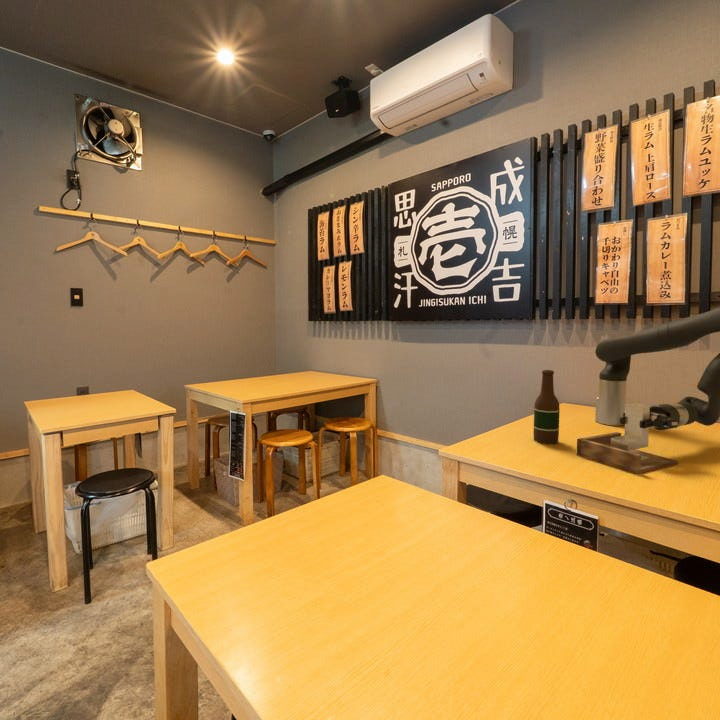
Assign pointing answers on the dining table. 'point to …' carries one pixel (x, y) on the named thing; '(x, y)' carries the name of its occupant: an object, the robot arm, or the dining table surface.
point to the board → (647, 462)
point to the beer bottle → (546, 412)
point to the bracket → (633, 428)
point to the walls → (608, 451)
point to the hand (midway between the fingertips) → (631, 422)
